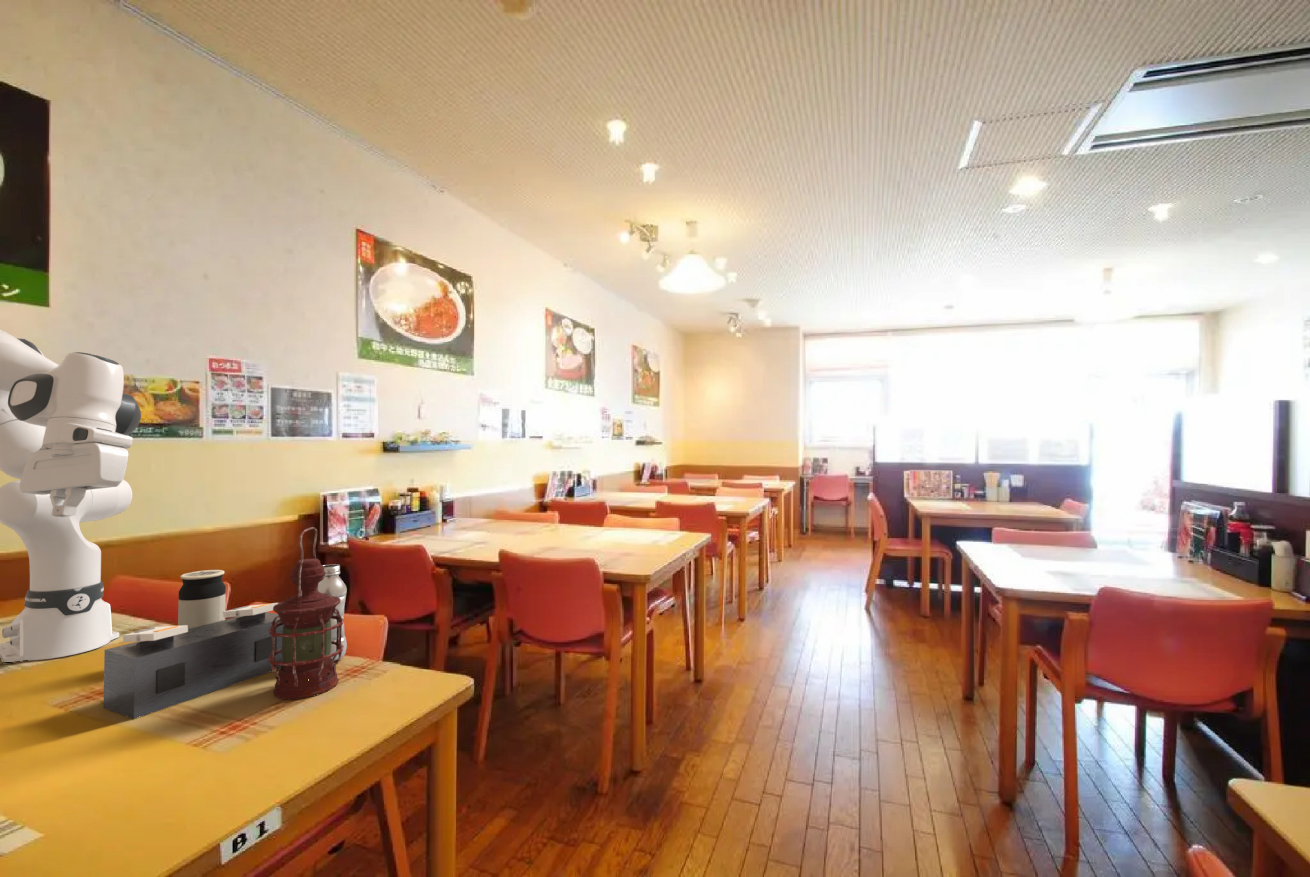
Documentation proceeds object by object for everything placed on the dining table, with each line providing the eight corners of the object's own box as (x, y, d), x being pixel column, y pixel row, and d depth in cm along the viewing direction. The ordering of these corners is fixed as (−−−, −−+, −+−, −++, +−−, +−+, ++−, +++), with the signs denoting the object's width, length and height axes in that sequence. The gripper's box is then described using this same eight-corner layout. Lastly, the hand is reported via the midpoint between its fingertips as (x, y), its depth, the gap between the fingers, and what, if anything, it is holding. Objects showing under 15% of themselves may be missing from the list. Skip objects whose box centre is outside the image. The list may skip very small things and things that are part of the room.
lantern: (330, 698, 102) (332, 531, 102) (254, 705, 99) (256, 533, 100) (352, 672, 113) (353, 523, 114) (284, 677, 111) (286, 524, 112)
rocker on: (123, 641, 100) (122, 634, 100) (157, 633, 105) (157, 626, 105) (153, 640, 96) (153, 632, 96) (188, 632, 101) (187, 624, 101)
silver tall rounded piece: (331, 667, 116) (332, 569, 117) (303, 664, 117) (304, 568, 118) (353, 656, 122) (354, 563, 123) (326, 653, 124) (328, 562, 124)
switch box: (103, 707, 98) (104, 644, 98) (260, 657, 122) (261, 606, 122) (135, 719, 94) (136, 652, 94) (291, 665, 117) (292, 611, 118)
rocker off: (223, 617, 115) (222, 611, 115) (249, 611, 119) (248, 605, 120) (253, 615, 111) (252, 608, 111) (279, 608, 115) (278, 602, 116)
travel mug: (223, 658, 121) (224, 574, 121) (174, 666, 116) (176, 579, 117) (225, 648, 127) (227, 568, 128) (179, 655, 123) (181, 572, 123)
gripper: (16, 441, 101) (-2, 518, 98) (99, 429, 96) (82, 510, 93) (60, 448, 107) (44, 521, 104) (140, 437, 102) (126, 514, 99)
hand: (63, 516), depth 98 cm, fingers closed
